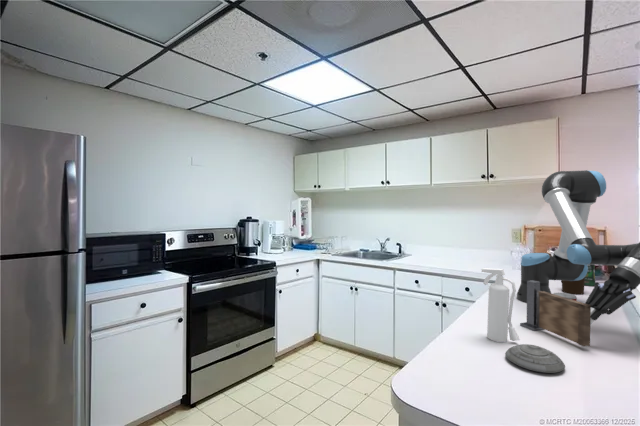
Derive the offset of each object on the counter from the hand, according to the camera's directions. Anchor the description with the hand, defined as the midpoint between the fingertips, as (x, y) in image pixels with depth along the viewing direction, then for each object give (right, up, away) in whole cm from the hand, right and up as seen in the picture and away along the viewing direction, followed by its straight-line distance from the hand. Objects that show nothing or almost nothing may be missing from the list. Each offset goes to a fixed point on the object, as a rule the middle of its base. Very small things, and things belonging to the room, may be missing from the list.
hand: (582, 324), depth 110 cm
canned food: (+11, -7, +23) cm, 26 cm away
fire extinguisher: (-25, -7, +5) cm, 26 cm away
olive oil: (+49, -6, +67) cm, 83 cm away
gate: (-3, -6, +5) cm, 8 cm away
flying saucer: (-24, -8, -12) cm, 28 cm away
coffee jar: (+70, -5, +84) cm, 109 cm away
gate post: (-6, -7, +17) cm, 19 cm away
